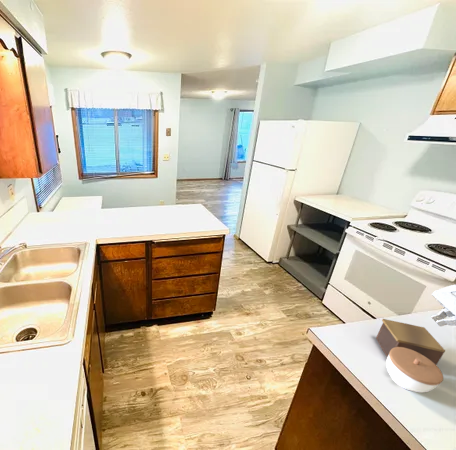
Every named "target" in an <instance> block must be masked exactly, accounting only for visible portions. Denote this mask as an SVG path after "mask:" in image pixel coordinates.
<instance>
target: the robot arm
mask: <svg viewBox="0 0 456 450" xmlns="http://www.w3.org/2000/svg"><path fill="white" fill-rule="evenodd" d="M431 296H432V297H433V298H434V299H435V301H436V302H437V303H438V304H440V305H441V306H442V308H441V309H440V310H439V311H438V312H437V314H436V313H435V314H433V315H431V316H430V317H431V319H432V320H433V321H434V322H435V324H436V325H438V326H439V327H444V326H445V327H446V326H456V284H450V285H447V286H444V287H440V288H438V289H436V290H434V291H433V292H432V293H431ZM447 317H448V318H447Z"/></svg>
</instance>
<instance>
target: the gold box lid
mask: <svg viewBox="0 0 456 450" xmlns="http://www.w3.org/2000/svg"><path fill="white" fill-rule="evenodd" d="M381 321H382V324H383V323H384V324H385V325H386V327H387V328H388V330H389V331H390V332H391V334H392V335H393V337H394V338H395V339H396V341H397V342H401V343H406V344H410V345H414V346H419V347H423V348H427V349H432V350H436V351H440V352H444V353H445V352H446V349H445V348H444V347H443V346H442V344H440V342H439V341H437V339H436V338H435V337H434V336H433V335H432V334H431V333H430V332H429V331H428V329H426V327H424V326H419V325H415V324H410V323H405V322H400V321H395V320H391V319H386V318H382V319H381Z"/></svg>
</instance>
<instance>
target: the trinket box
mask: <svg viewBox="0 0 456 450" xmlns="http://www.w3.org/2000/svg"><path fill="white" fill-rule="evenodd" d="M385 367H386V371H387V373H388V374H389V376H390V378H391V379H392V381H394V383H395V384H396V385H398V386H399V387H401V388H402V389H404V390H407V391H410V392H414V393H415V392H416V393H428V392H431V391H433V390H434V389H435V388H437V387H438V386H439V385H440V384H442V383H443V381H444V375H443V372H442V371H441V369H440V368H439V367H438V365H435V364H434V363H433V362H432V361H431V360H429V359H428V358H427V357H425V356H423V355H422V354H420V353H418V352H416V351H413V350H411V349H408V348H403V347H395V348H392V349H391V350H390V353H389V355H388V357H386V360H385Z"/></svg>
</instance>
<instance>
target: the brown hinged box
mask: <svg viewBox="0 0 456 450" xmlns="http://www.w3.org/2000/svg"><path fill="white" fill-rule="evenodd" d="M375 339H376V341H377V343H378V345H379V346H380V348H381V351H383V353H384V355H385V356H386V358H387V357H388V355H389V353H390V350H391V349H392V348H395V347H403V348H408V349H411V350H413V351H416V352H418V353H420V354H422V355H423V356H425V357H427V358H428V359H429V360H431V361H432V362H433V363H434V364H435V365H436V366H438V363H439V361H440V360H441V358H442V357H443V355H444V354H445V352H440V351H436V350H432V349H427V348H423V347H419V346H414V345H410V344H406V343H401V342H397V341H396V339H395V338H394V337H393V335H392V334H391V332H390V331H389V330H388V328H387V327H386V325H385V324H384V323H383V322H382V324H381V326H380V329H379V331H378V333H377V335H376V337H375Z"/></svg>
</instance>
